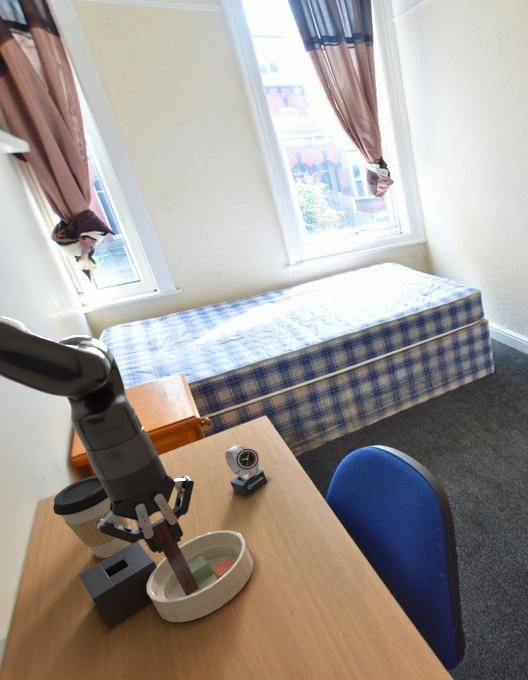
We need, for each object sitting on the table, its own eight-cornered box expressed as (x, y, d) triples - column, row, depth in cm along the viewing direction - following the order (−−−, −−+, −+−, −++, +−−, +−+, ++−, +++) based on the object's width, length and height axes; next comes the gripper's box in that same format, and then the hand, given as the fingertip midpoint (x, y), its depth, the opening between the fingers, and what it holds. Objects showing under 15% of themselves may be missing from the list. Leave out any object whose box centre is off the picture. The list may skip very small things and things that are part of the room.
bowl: (178, 641, 76) (165, 619, 74) (146, 596, 84) (133, 574, 82) (269, 573, 87) (260, 552, 84) (232, 539, 95) (223, 519, 93)
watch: (252, 498, 106) (236, 459, 102) (229, 490, 110) (213, 452, 106) (272, 482, 111) (258, 444, 107) (250, 475, 114) (236, 438, 110)
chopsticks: (187, 596, 82) (151, 527, 76) (184, 593, 83) (149, 524, 76) (199, 588, 83) (165, 520, 77) (196, 585, 84) (163, 517, 78)
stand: (110, 628, 79) (92, 599, 76) (96, 602, 84) (78, 574, 81) (168, 589, 85) (153, 561, 83) (151, 567, 91) (137, 540, 88)
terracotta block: (224, 588, 84) (218, 576, 83) (217, 580, 86) (211, 568, 84) (241, 576, 86) (236, 564, 85) (234, 568, 88) (228, 557, 86)
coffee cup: (134, 521, 103) (105, 466, 97) (151, 539, 97) (121, 482, 91) (78, 552, 96) (43, 495, 90) (93, 574, 90) (56, 514, 84)
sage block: (196, 586, 85) (190, 574, 84) (189, 578, 86) (183, 566, 85) (213, 574, 87) (208, 562, 86) (206, 566, 89) (201, 555, 87)
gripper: (76, 497, 65) (127, 585, 71) (185, 445, 75) (221, 527, 81) (63, 478, 69) (112, 563, 76) (167, 431, 79) (203, 510, 86)
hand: (168, 544), depth 79 cm, fingers closed on chopsticks
